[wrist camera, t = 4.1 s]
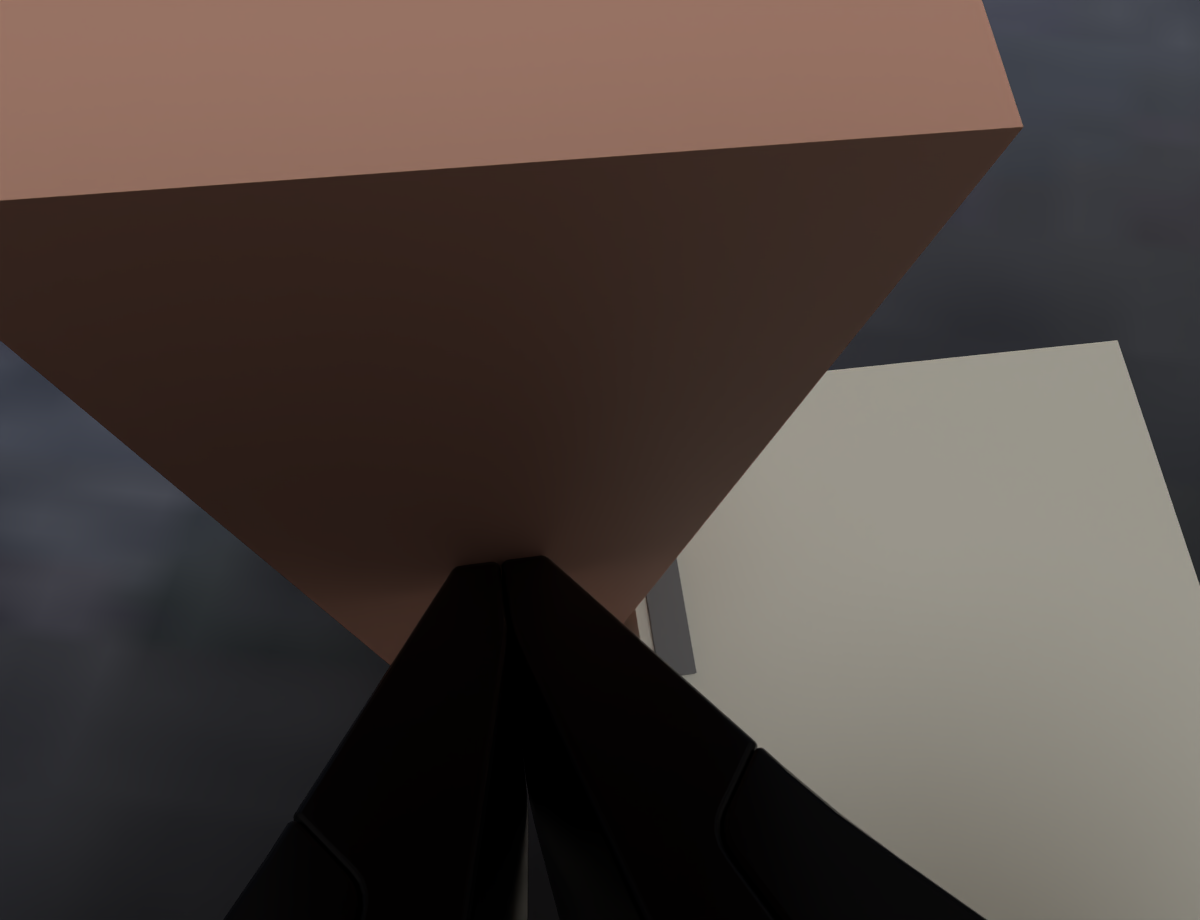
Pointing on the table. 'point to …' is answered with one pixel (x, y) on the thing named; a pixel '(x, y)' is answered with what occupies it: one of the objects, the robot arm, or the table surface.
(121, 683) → the table surface
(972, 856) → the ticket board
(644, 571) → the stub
